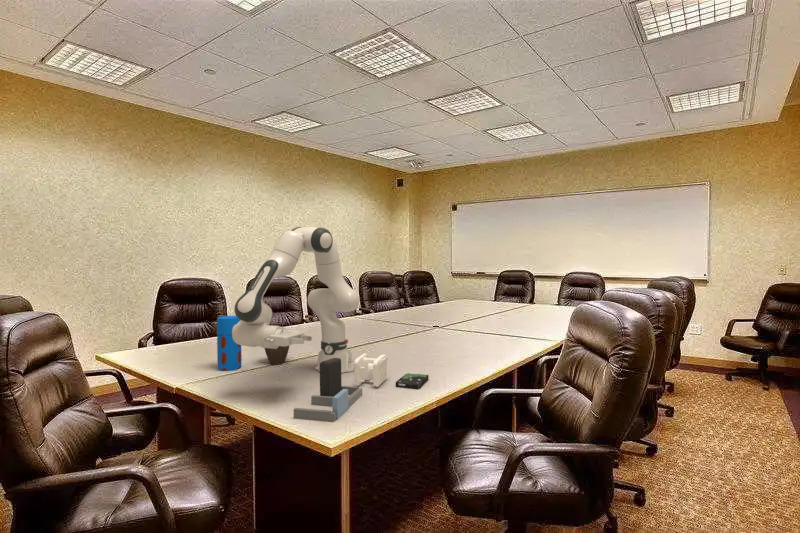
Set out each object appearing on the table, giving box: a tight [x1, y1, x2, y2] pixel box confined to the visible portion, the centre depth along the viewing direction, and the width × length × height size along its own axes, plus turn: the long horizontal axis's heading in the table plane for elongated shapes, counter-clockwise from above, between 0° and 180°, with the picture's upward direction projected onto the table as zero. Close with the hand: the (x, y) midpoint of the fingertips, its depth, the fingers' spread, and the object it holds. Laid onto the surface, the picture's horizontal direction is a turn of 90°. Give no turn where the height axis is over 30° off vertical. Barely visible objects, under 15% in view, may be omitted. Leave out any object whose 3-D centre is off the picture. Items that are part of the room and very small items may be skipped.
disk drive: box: [395, 372, 429, 390], centre depth 184 cm, size 10×3×15 cm
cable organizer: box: [353, 352, 389, 388], centre depth 184 cm, size 15×11×12 cm
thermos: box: [216, 315, 243, 372], centre depth 210 cm, size 11×11×25 cm
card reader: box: [319, 358, 342, 397], centre depth 164 cm, size 9×4×15 cm, turn 149°
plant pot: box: [263, 345, 291, 366], centre depth 220 cm, size 15×15×16 cm
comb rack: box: [293, 385, 363, 423], centre depth 157 cm, size 28×15×7 cm, turn 166°
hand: (307, 340), depth 166 cm, fingers open, 8 cm apart
